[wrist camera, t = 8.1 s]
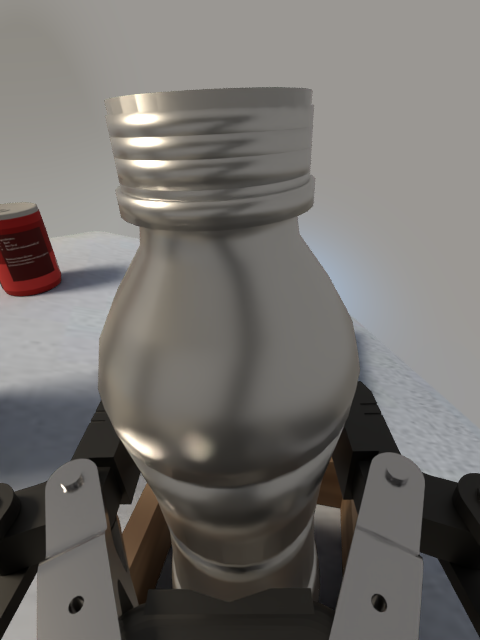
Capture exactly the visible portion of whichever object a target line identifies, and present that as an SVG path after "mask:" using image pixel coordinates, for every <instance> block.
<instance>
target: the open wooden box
mask: <svg viewBox="0 0 480 640" xmlns="http://www.w3.org/2000/svg"><path fill="white" fill-rule="evenodd" d="M316 504H320V505H326V506H331V507H337V508H340V510H341V540H342V569H343V575H344V571H345V567H346V563H347V558H348V554H349V550H350V546H351V542H352V538H353V534H354V529H355V525H356V521H357V517H358V514H357V511H356V507H355V504H354V500H343V497H342V493H341V490H340V486H339V482H338V478H337V474H336V470H335V467H334V463H333V459H332V457H331V459H330V462H329V464H328V466H327V469H326V471H325V474H324V476H323V479H322V482H321V486H320V491H319V495H318V499H317V503H316ZM122 536H123V541H124V546H125V551H126V556H127V561H128V566H129V571H130V575H131V579H132V583H133V586H134V590H135V593H136V596H137V600H138V604H139V605H140V604H143V603H146V600H147V595H148V590H149V589H155V587H156V584H157V582H158V579H159V576H160V573H161V571H162V568H163V565H164V562H165V560H166V557H167V554H168V551H169V549H170V546H171V543H172V542H171V535H170V530H169V528H168V525H167V523H166V520H165V518H164V516H163V513H162V511H161V508H160V506H159V503H158V501H157V498H156V496H155V494H154V493H153V491H152V489H151V488H150V486H149V485H148V483H147V484H146V486H145V488H144V490H143V492H142V494H141V496H140V498H139V500H138V503H137V505H136V507H135V509H134V511H133V513H132V515H131V517H130V519H129V521H128V523H127V525H126V527H125V529H124V531H123V533H122Z"/></svg>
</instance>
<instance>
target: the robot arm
mask: <svg viewBox="0 0 480 640" xmlns="http://www.w3.org/2000/svg"><path fill="white" fill-rule="evenodd" d="M332 459H333V463H334V467H335V470H336V474H337V478H338V482H339V486H340V490H341V493H342V497H343V500H354V504H355V507H356V511H357V514H358V517H357V521H356V525H355V529H354V534H353V538H352V542H351V546H350V550H349V554H348V558H347V563H346V567H345V571H344V575H343V579H342V583H341V587H340V591H339V596H338V600H337V604H336V608H335V611H334V610H332V609H331V608H329V607H327V606H325V605H323V604H321V603H318V602H315V601H313V600H312V593H311V588H270V589H267V590H264V591H261V592H258V593H255V594H252V595H249V596H246V597H243V598H240V599H237V600H234V601H231V602H227V601H223V600H220V599H217V598H214V597H211V596H208V595H205V594H202V593H199V592H196V591H193V590H190V589H149V590H148V595H147V600H146V603H143V604H140V605H139V604H138V600H137V596H136V593H135V590H134V586H133V583H132V579H131V575H130V571H129V566H128V561H127V556H126V551H125V546H124V541H123V536H122V531H121V526H120V521H119V518H118V515H117V511H118V508H119V505H120V504H131V503H132V500H133V496H134V493H135V489H136V486H137V483H138V479H139V476H140V470H139V469H138V467H137V465H136V464H135V462H134V461H133V459H132V457H131V456H130V454H129V452H128V451H127V449H126V448H125V446H124V444H123V443H122V441H121V439H120V438H119V437H118V435H117V434H116V432H115V430H114V427H113V425H112V423H111V421H110V419H109V417H108V415H107V413H106V411H105V409H104V406H103V403H102V400H101V402H100V404H99V406H98V408H97V410H96V413H95V414H94V416H93V418H92V420H91V423H90V424H89V425H88V427H87V429H86V431H85V433H84V435H83V437H82V439H81V441H80V443H79V445H78V447H77V449H76V451H75V453H74V455H73V457H72V459H71V461H70V462H67V463H65V464H64V465H62V466H61V467H59V468H58V469H57V470H56V471H55V472H54V473H53V474H52V475H51V477H50V478H49V480H48V481H46V482H44V483H41V484H38V485H35V486H31V487H28V488H25V489H22V490H18V491H15V492H14V491H13V489H12V488H11V487H10V486H9V485H7V484H4V483H0V640H1V639H2V637H3V635H4V633H5V631H6V629H7V627H8V626H9V624H10V622H11V620H12V618H13V616H14V614H15V612H16V611H17V609H18V607H19V605H20V603H21V601H22V599H23V598H24V596H25V594H26V592H27V590H28V588H29V586H30V585H31V583H32V581H33V579H34V577H35V575H36V573H37V640H418V636H419V622H420V608H421V594H422V580H423V559H422V557H421V556H420V552H421V553H424V554H427V555H430V556H433V557H436V558H438V560H439V562H440V564H441V565H442V567H443V569H444V571H445V573H446V575H447V577H448V579H449V581H450V582H451V584H452V586H453V588H454V590H455V592H456V594H457V596H458V598H459V599H460V601H461V603H462V605H463V607H464V609H465V611H466V613H467V615H468V616H469V618H470V620H471V622H472V624H473V626H474V628H475V630H476V632H477V633H478V635H479V637H480V474H479V473H470V474H466V475H464V476H463V477H461V479H460V480H459V482H458V483H457V482H453V481H449V480H446V479H442V478H438V477H434V476H431V475H428V474H425V473H423V472H421V470H420V469H419V467H418V466H417V465H416V464H415V463H414V462H413V461H411V460H410V459H408V458H406V457H405V456H402V455H401V453H400V452H399V450H398V447H397V445H396V443H395V441H394V439H393V437H392V435H391V432H390V430H389V428H388V426H387V424H386V422H385V420H384V417H383V415H381V411H380V409H379V407H378V405H377V402H376V400H375V398H374V396H373V394H372V392H371V391H370V390H369V389H368V388H367V387H366V386H365V385H364V384H363V383H362V382H361V381H358V382H357V387H356V391H355V394H354V397H353V400H352V404H351V408H350V412H349V416H348V418H347V420H346V421H345V424H344V427H343V430H342V432H341V435H340V437H339V439H338V442H337V444H336V447H335V449H334V452H333V454H332Z"/></svg>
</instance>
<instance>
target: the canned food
mask: <svg viewBox="0 0 480 640" xmlns="http://www.w3.org/2000/svg"><path fill="white" fill-rule="evenodd" d="M60 282H61V272H60V269H59V266H58V263H57V260H56V257H55V255H54V252H53V249H52V246H51V243H50V240H49V237H48V234H47V231H46V228H45V226H44V223H43V220H42V217H41V215H40V212H39V209H38V207H37V205H36V204H34V203H27V202H23V203H22V202H21V203H7V204H0V284H1V286H2V288H3V289H4V290H5V292H6V293H8V294H9V295H13V296H29V295H35V294H39V293H43V292H46V291H48V290H51V289H53V288H54V287H56V286H57V285H58V284H59V283H60Z"/></svg>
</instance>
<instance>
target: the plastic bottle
mask: <svg viewBox="0 0 480 640" xmlns="http://www.w3.org/2000/svg"><path fill="white" fill-rule="evenodd" d="M104 102H105V106H106V110H107V114H108V115H106V116H105V118H106V121H107V127H108V131H109V135H110V141H111V145H112V150H113V154H114V159H115V164H116V169H117V173H118V178H119V183H120V186H119V187H118V188H117V189H116V190H115V191H116V195H117V200H118V205H119V209H120V214H121V218H123V219H124V220H125V221H126V222H128V223H131V224H133V225H136V226H140V246H139V248H138V250H137V252H136V254H135V256H134V258H133V260H132V262H131V264H130V266H129V268H128V270H127V272H126V274H125V276H124V277H123V279H122V281H121V283H120V285H119V287H118V289H117V292H116V295H115V297H114V300H113V303H112V306H111V308H110V311H109V314H108V316H107V319H106V322H105V325H104V327H103V330H102V333H101V335H100V338H99V368H98V390H99V394H100V397H101V400H102V403H103V406H104V409H105V411H106V413H107V415H108V417H109V419H110V421H111V423H112V425H113V427H114V430H115V432H116V434H117V435H118V437H119V438H120V439H121V441H122V443H123V444H124V446H125V448H126V449H127V451H128V452H129V454H130V456H131V457H132V459H133V461H134V462H135V464H136V465H137V467H138V469H139V470H140V472H141V473H142V475H143V477H144V478H145V480H146V481H147V483H148V485H149V486H150V488H151V489H152V491H153V493H154V494H155V496H156V498H157V501H158V503H159V506H160V508H161V511H162V513H163V516H164V518H165V520H166V523H167V525H168V528H169V530H170V535H171V542H172V549H173V555H172V586H173V589H190V590H193V591H196V592H199V593H202V594H205V595H208V596H211V597H214V598H217V599H220V600H223V601H227V602H231V601H234V600H237V599H240V598H243V597H246V596H249V595H252V594H255V593H258V592H261V591H264V590H267V589H270V588H311V593H312V600H313V601H315V602H318V600H319V592H320V573H319V562H318V555H317V548H316V543H315V540H314V512H315V508H316V503H317V499H318V495H319V491H320V486H321V482H322V479H323V476H324V474H325V471H326V469H327V466H328V464H329V462H330V459H331V457H332V454H333V452H334V449H335V447H336V444H337V442H338V439H339V437H340V435H341V432H342V430H343V427H344V424H345V421H346V420H347V418H348V416H349V412H350V408H351V404H352V400H353V397H354V394H355V391H356V387H357V382H358V377H359V373H360V366H359V357H358V350H357V344H356V339H355V333H354V328H353V322H352V320H351V317H350V315H349V313H348V311H347V309H346V307H345V305H344V303H343V302H342V300H341V298H340V296H339V294H338V292H337V290H336V289H335V287H334V285H333V284H332V282H331V279H330V277H329V276H328V274H327V273H326V271H325V270H324V269H323V267H322V266H321V264H320V263H319V261H318V260H317V258H316V257H315V256H314V254H313V253H312V251H311V250H310V249H309V247H308V245H306V243H305V241H304V240H303V238H302V237H301V235H300V234H299V226H298V217H297V216H299V215H301V214H303V213H305V212H307V211H308V210H309V209H310V208H311V207H312V206H313V203H314V189H315V178H314V177H313V176H312V175H310V165H311V146H312V129H313V112H314V105H311V102H312V90H311V89H306V88H285V87H284V88H283V87H270V88H269V87H266V88H265V87H262V88H261V87H258V88H228V89H227V88H226V89H225V88H224V89H203V90H185V91H171V92H158V93H147V94H136V95H128V96H120V97H114V98H109V99H106V100H104Z"/></svg>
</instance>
